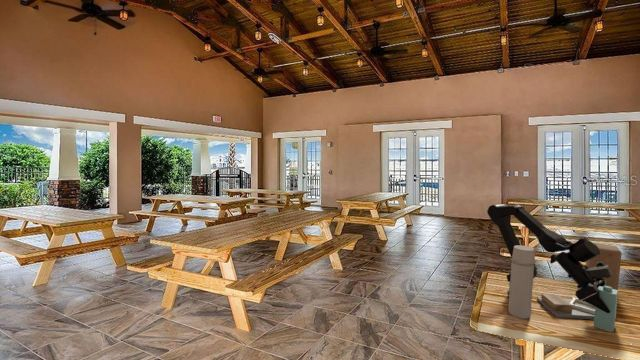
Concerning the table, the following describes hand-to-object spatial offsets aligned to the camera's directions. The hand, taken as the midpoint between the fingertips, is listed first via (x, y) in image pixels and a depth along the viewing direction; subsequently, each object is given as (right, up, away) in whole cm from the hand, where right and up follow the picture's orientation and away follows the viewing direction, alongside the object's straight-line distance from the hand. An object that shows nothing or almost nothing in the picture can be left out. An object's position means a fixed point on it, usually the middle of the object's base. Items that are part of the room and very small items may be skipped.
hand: (611, 308), depth 116 cm
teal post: (-1, -7, +2) cm, 7 cm away
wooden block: (+20, -5, +29) cm, 36 cm away
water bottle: (-25, -6, +10) cm, 28 cm away
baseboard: (-2, -6, +14) cm, 15 cm away
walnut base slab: (-9, -4, +14) cm, 17 cm away
